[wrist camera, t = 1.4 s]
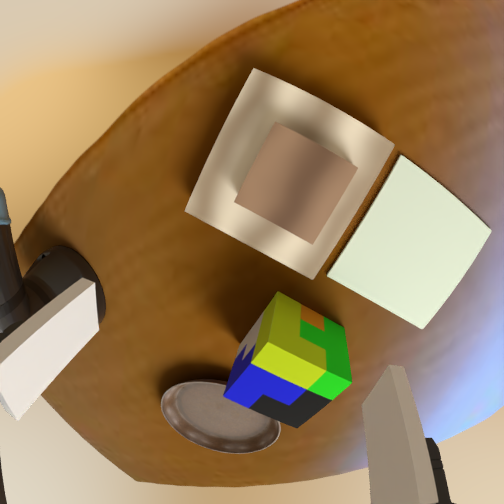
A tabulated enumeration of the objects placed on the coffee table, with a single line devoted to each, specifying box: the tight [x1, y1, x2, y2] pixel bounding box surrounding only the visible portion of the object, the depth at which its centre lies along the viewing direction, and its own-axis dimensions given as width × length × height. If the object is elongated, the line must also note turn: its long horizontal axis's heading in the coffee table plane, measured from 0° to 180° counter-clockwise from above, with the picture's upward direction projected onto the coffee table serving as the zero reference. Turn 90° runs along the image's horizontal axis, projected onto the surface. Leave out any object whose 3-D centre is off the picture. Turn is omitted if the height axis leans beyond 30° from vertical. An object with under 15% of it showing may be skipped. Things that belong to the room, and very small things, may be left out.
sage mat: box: [327, 155, 491, 329], centre depth 30 cm, size 16×16×1 cm
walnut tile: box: [234, 122, 358, 245], centre depth 26 cm, size 8×8×2 cm
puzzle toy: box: [223, 291, 352, 428], centre depth 33 cm, size 10×10×10 cm
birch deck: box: [185, 68, 395, 280], centre depth 28 cm, size 15×16×4 cm
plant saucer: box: [161, 379, 281, 454], centre depth 44 cm, size 21×21×3 cm
